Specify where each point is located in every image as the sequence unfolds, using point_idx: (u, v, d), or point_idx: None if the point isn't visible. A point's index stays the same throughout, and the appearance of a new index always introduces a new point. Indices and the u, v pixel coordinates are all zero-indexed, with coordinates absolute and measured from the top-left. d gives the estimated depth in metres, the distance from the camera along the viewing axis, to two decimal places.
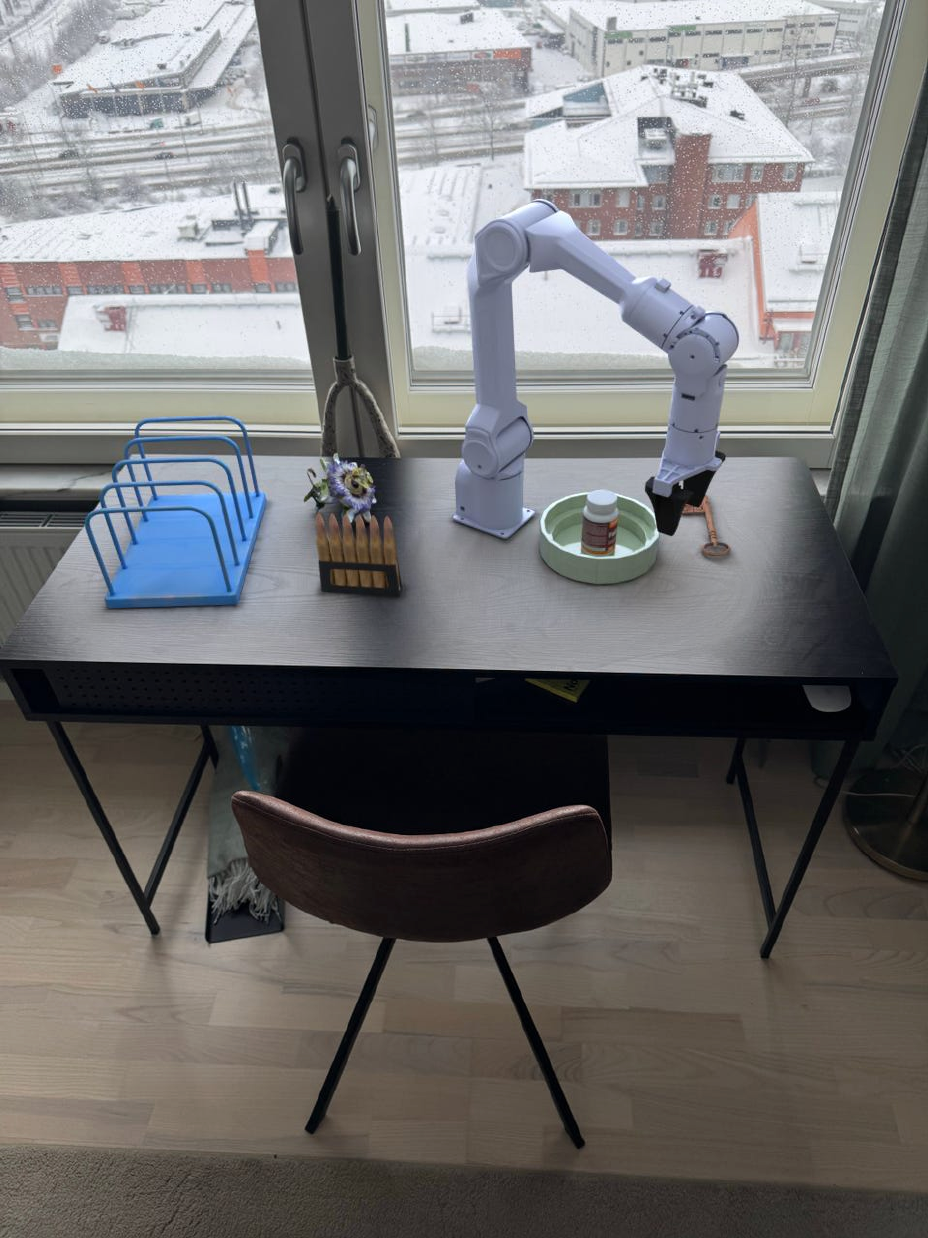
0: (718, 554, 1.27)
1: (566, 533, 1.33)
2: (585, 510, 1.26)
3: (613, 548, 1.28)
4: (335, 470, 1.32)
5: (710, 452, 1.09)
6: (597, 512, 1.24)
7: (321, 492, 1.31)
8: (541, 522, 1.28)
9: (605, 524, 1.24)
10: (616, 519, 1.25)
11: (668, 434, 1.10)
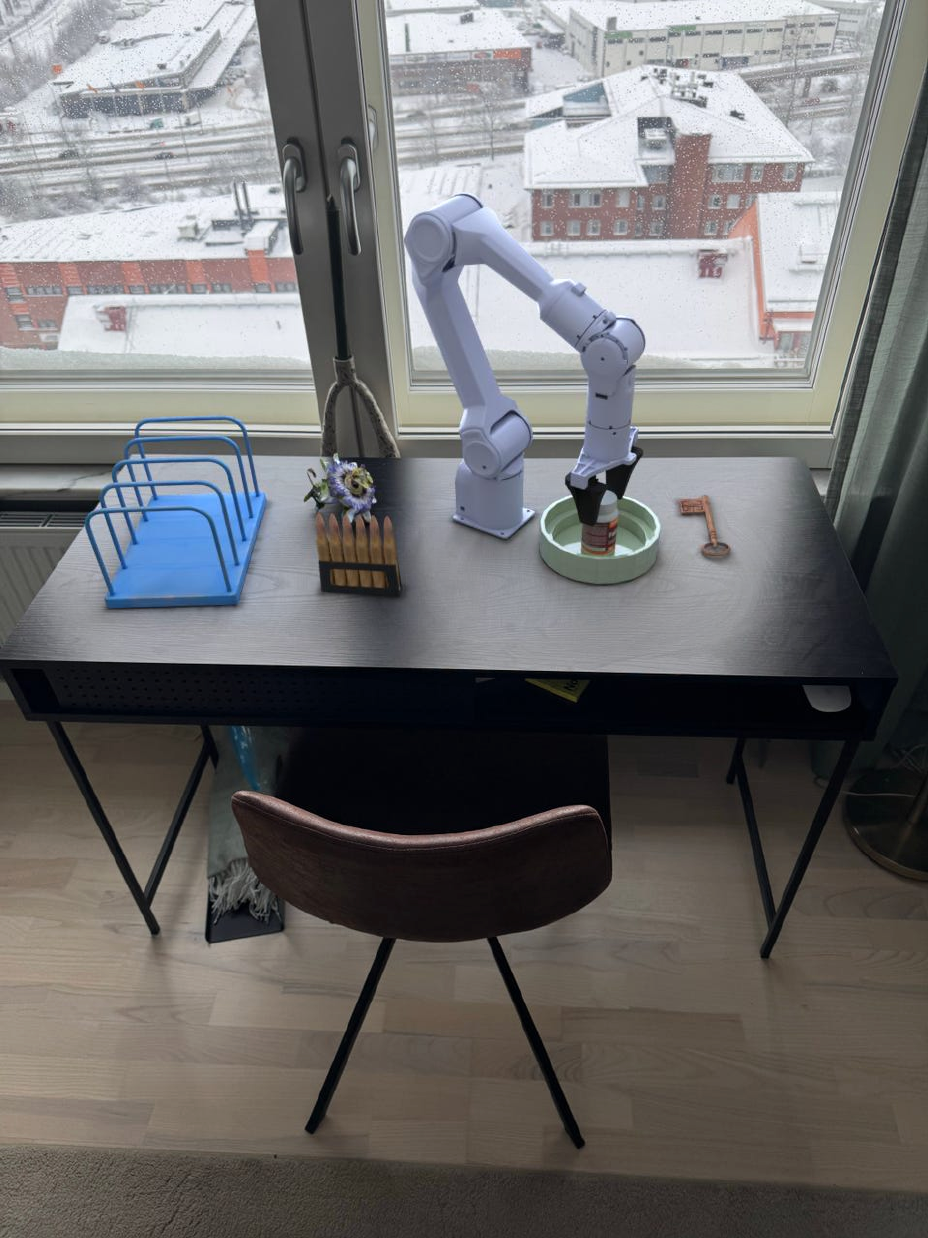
0: (718, 554, 1.27)
1: (566, 533, 1.33)
2: None
3: (613, 548, 1.28)
4: (335, 470, 1.32)
5: (624, 448, 1.17)
6: None
7: (321, 492, 1.31)
8: (541, 522, 1.28)
9: (605, 524, 1.24)
10: (616, 519, 1.25)
11: (585, 431, 1.18)
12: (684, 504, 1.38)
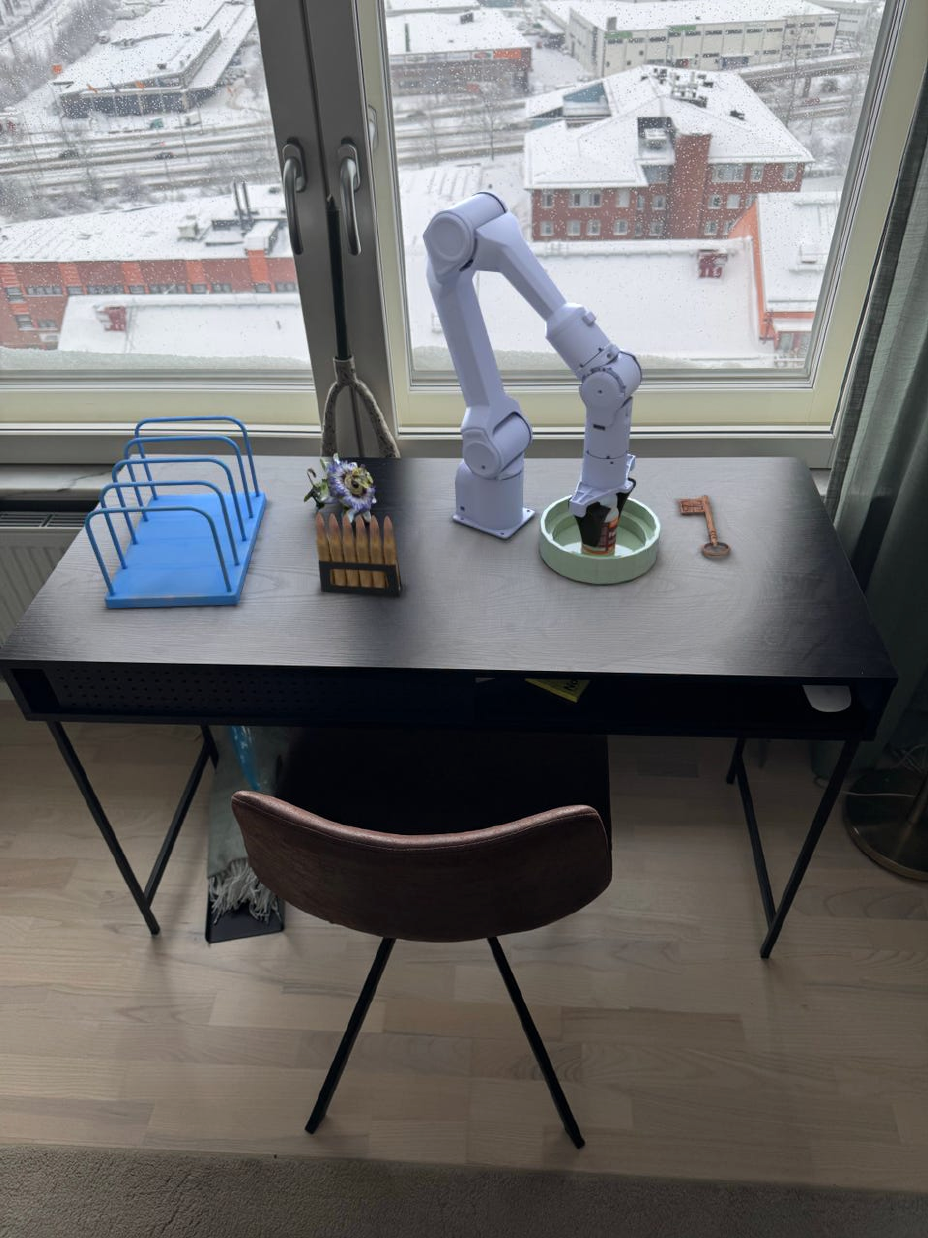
0: (718, 554, 1.27)
1: (566, 533, 1.33)
2: None
3: (613, 548, 1.28)
4: (335, 470, 1.32)
5: (622, 476, 1.20)
6: None
7: (321, 492, 1.31)
8: (541, 522, 1.28)
9: (605, 524, 1.24)
10: (616, 519, 1.25)
11: (583, 459, 1.20)
12: (684, 504, 1.38)
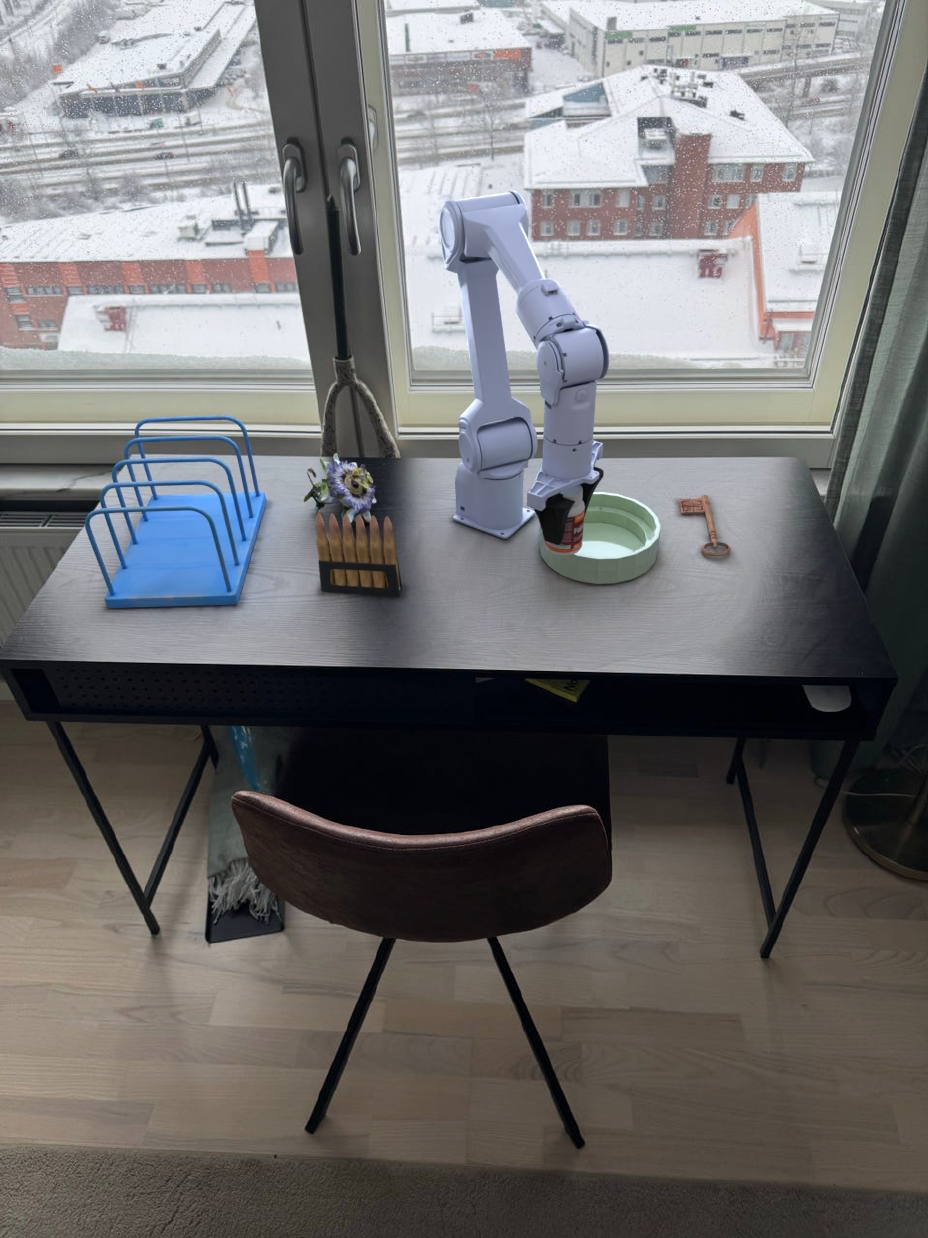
0: (718, 554, 1.27)
1: None
2: None
3: (579, 546, 1.16)
4: (335, 470, 1.32)
5: (586, 465, 1.07)
6: None
7: (321, 492, 1.31)
8: None
9: (569, 518, 1.12)
10: (582, 513, 1.13)
11: (543, 447, 1.08)
12: (684, 504, 1.38)
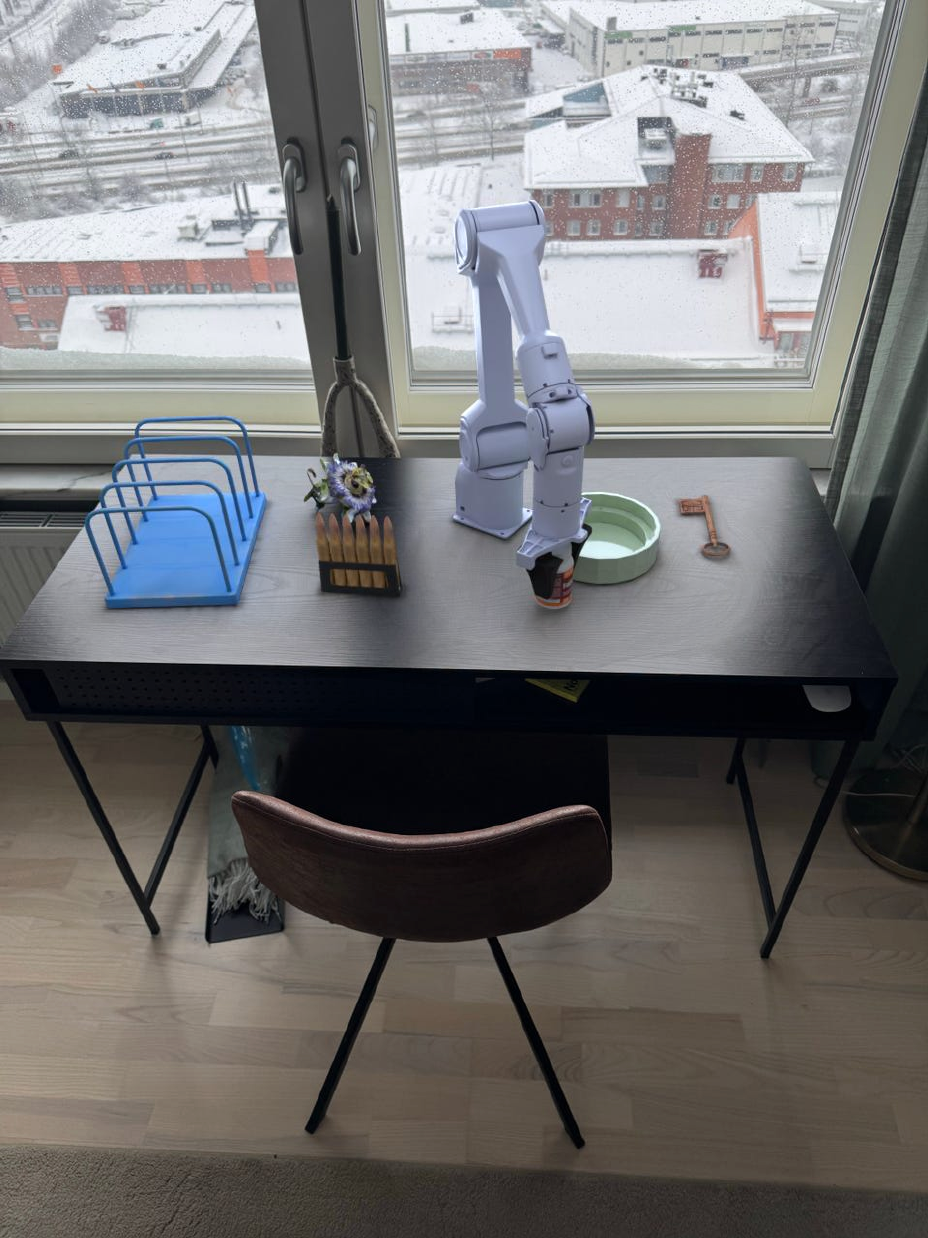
0: (718, 554, 1.27)
1: None
2: None
3: (569, 599, 1.18)
4: (335, 470, 1.32)
5: (574, 525, 1.10)
6: None
7: (321, 492, 1.31)
8: None
9: (558, 575, 1.15)
10: (571, 569, 1.16)
11: (533, 507, 1.11)
12: (684, 504, 1.38)
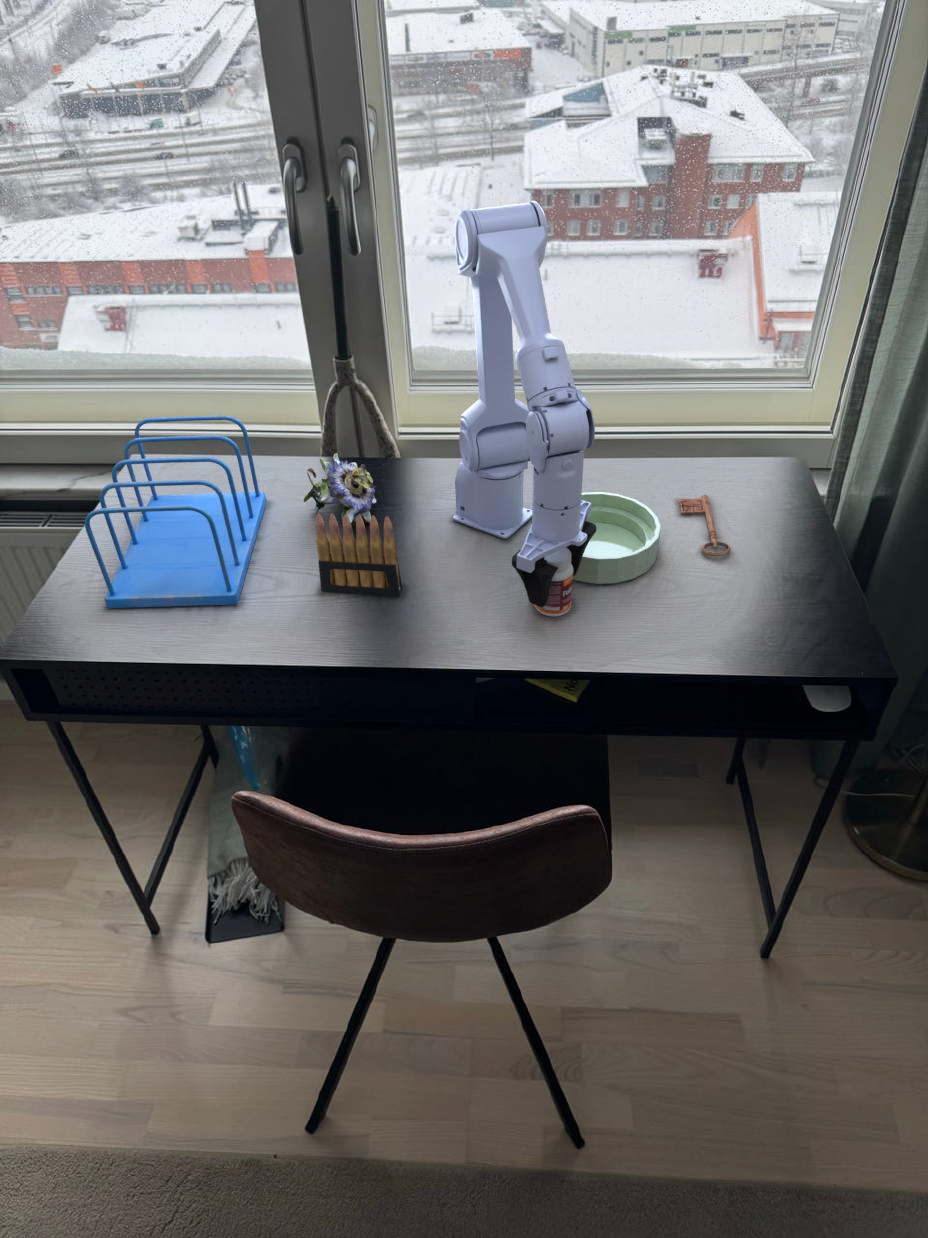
0: (718, 554, 1.27)
1: None
2: None
3: (568, 607, 1.19)
4: (335, 470, 1.32)
5: (574, 528, 1.11)
6: None
7: (321, 492, 1.31)
8: None
9: (558, 582, 1.16)
10: (571, 576, 1.16)
11: (533, 510, 1.11)
12: (684, 504, 1.38)
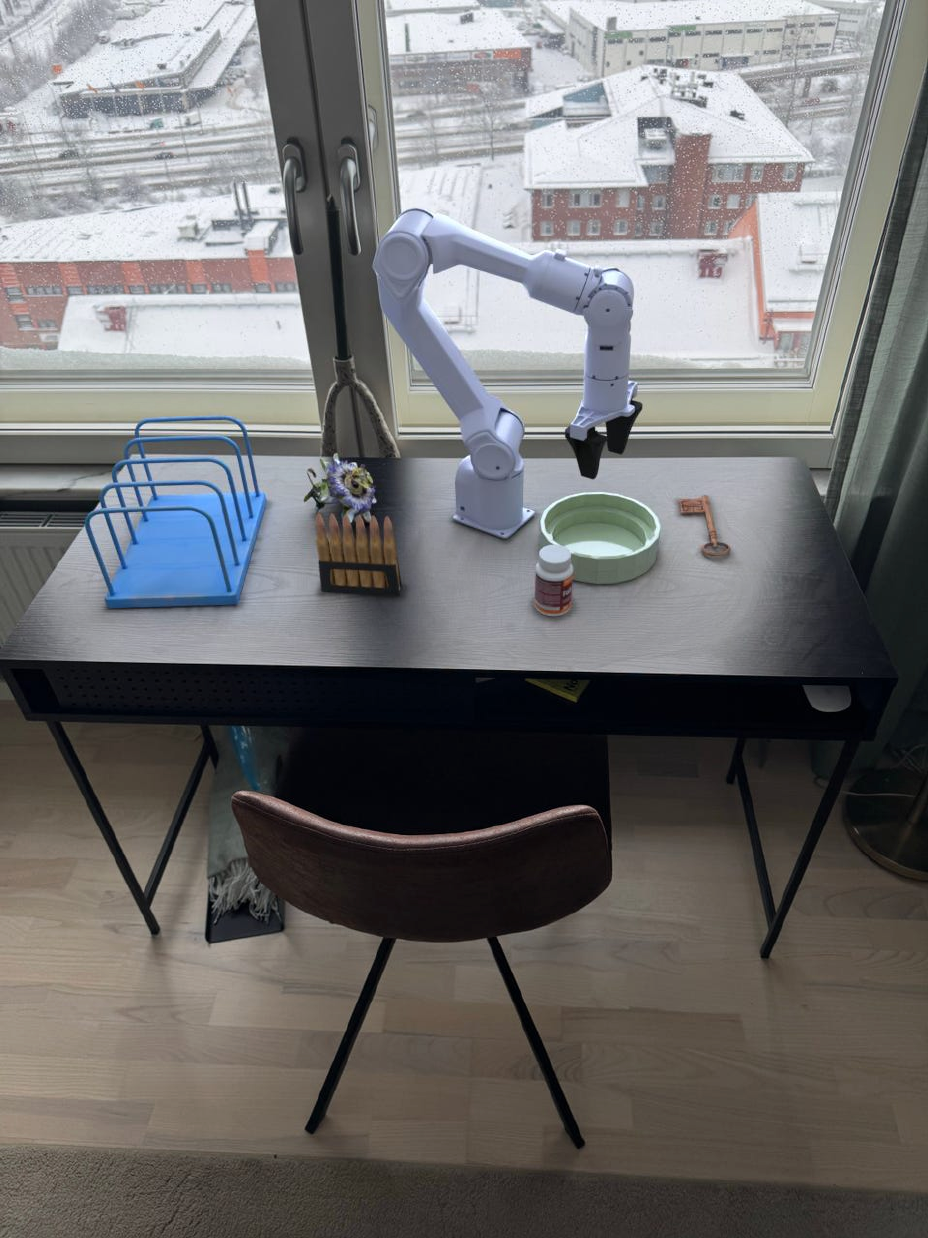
0: (718, 554, 1.27)
1: (566, 533, 1.33)
2: (537, 567, 1.17)
3: (568, 607, 1.19)
4: (335, 470, 1.32)
5: (623, 399, 1.19)
6: (550, 570, 1.15)
7: (321, 492, 1.31)
8: (541, 522, 1.28)
9: (558, 582, 1.16)
10: (571, 576, 1.16)
11: (584, 384, 1.20)
12: (684, 504, 1.38)
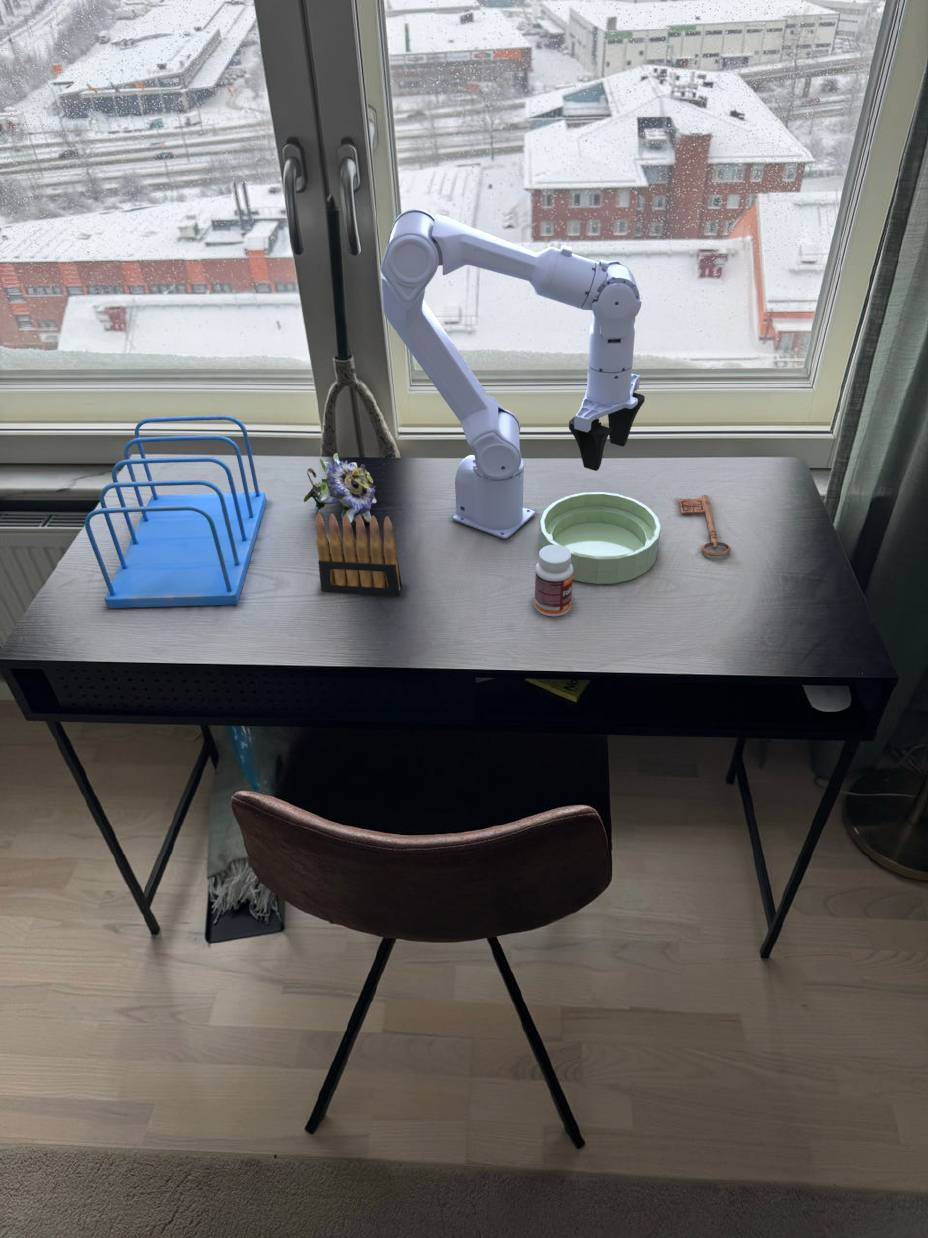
0: (718, 554, 1.27)
1: (566, 533, 1.33)
2: (537, 567, 1.17)
3: (568, 607, 1.19)
4: (335, 470, 1.32)
5: (626, 392, 1.21)
6: (550, 570, 1.15)
7: (321, 492, 1.31)
8: (541, 522, 1.28)
9: (558, 582, 1.16)
10: (571, 576, 1.16)
11: (588, 376, 1.21)
12: (684, 504, 1.38)
